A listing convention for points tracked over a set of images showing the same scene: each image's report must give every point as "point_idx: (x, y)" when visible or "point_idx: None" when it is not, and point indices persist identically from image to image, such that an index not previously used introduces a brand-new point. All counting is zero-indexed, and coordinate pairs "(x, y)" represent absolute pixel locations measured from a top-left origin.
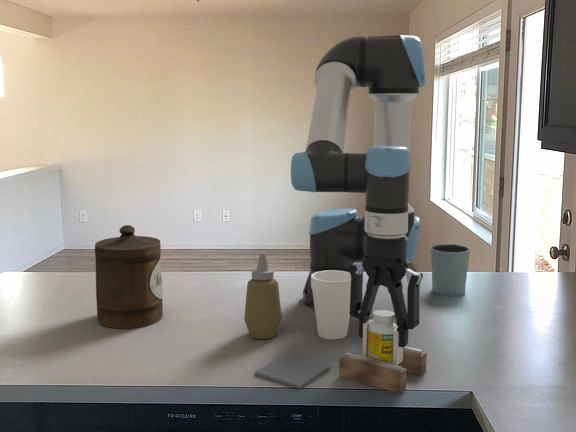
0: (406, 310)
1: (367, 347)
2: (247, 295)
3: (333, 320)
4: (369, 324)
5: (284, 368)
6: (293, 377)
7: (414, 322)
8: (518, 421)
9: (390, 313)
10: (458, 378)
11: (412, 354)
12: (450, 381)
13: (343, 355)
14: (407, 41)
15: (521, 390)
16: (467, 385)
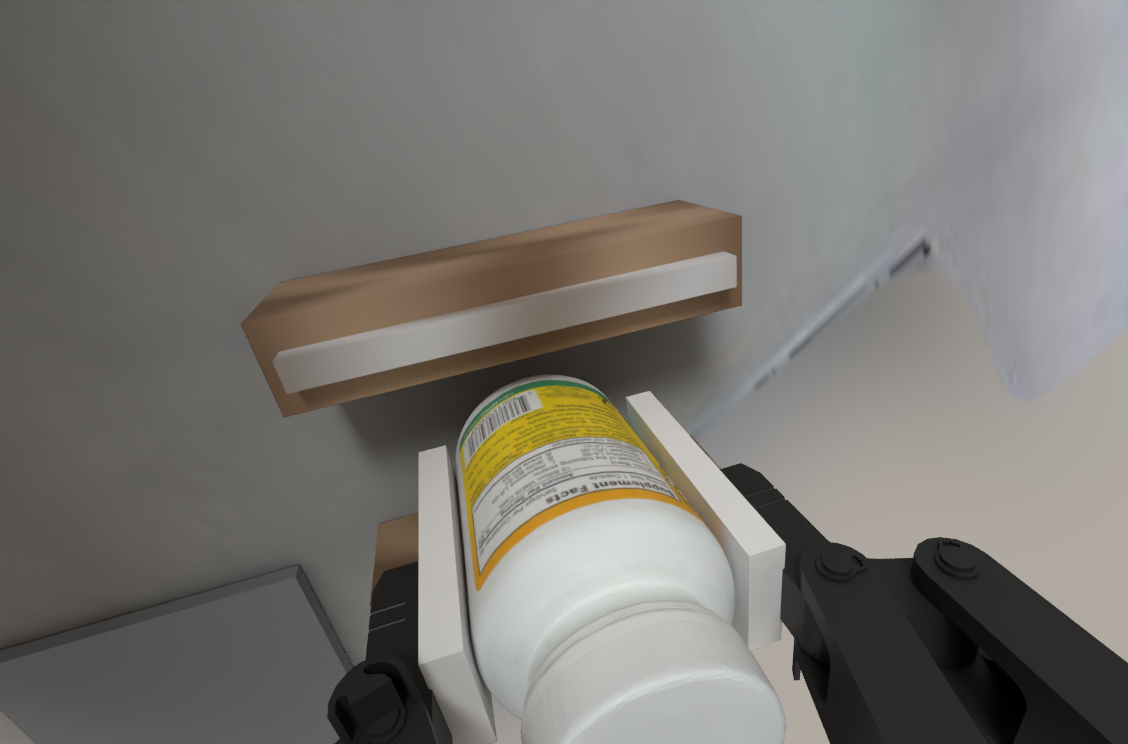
0: (962, 708)
1: None
2: None
3: None
4: (481, 687)
5: (176, 738)
6: (298, 739)
7: (997, 667)
8: (1083, 334)
9: (728, 724)
10: (849, 154)
11: (681, 318)
12: (825, 221)
13: None
14: None
15: (1120, 52)
16: (901, 199)
